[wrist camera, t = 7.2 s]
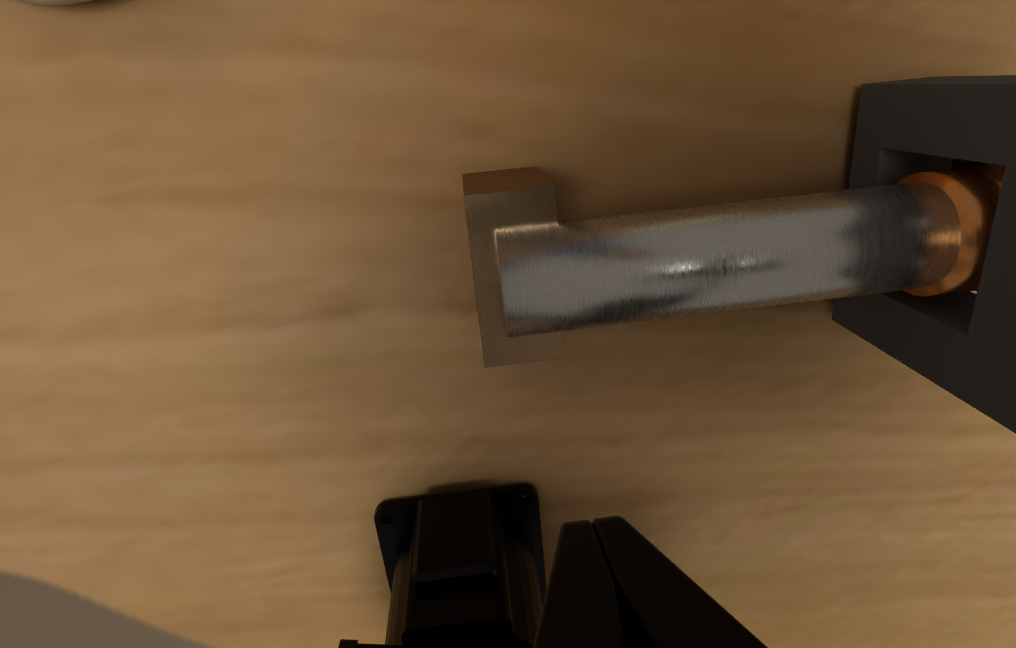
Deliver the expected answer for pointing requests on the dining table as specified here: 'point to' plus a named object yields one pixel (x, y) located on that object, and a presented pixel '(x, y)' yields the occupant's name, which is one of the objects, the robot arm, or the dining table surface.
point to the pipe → (713, 253)
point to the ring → (1010, 253)
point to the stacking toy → (52, 2)
